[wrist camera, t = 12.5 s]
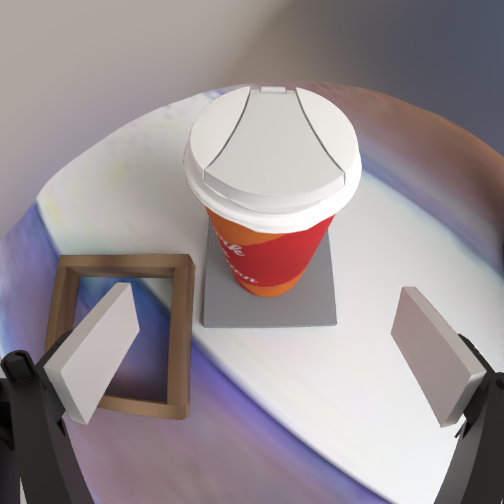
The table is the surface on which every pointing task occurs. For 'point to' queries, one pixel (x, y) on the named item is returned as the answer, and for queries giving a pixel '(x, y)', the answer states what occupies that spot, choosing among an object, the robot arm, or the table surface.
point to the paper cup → (271, 179)
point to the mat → (268, 308)
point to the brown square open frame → (179, 323)
